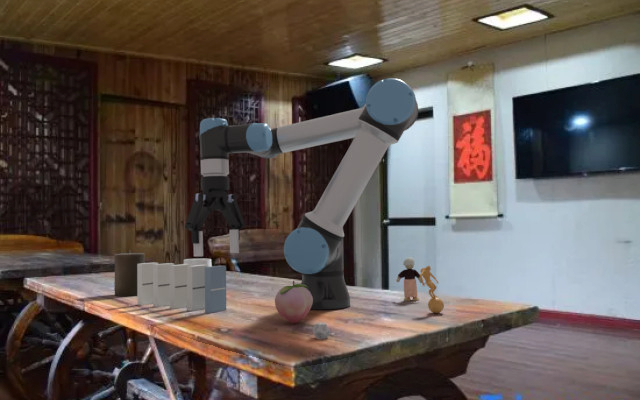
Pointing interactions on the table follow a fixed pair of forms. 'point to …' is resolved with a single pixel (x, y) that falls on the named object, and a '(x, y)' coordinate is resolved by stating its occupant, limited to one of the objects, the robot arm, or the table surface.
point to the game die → (321, 331)
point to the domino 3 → (178, 286)
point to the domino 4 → (196, 287)
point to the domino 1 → (145, 283)
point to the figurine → (431, 291)
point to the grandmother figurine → (409, 280)
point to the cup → (198, 262)
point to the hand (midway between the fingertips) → (217, 254)
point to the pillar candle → (127, 273)
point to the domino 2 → (161, 285)
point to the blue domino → (215, 289)
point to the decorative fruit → (293, 302)
